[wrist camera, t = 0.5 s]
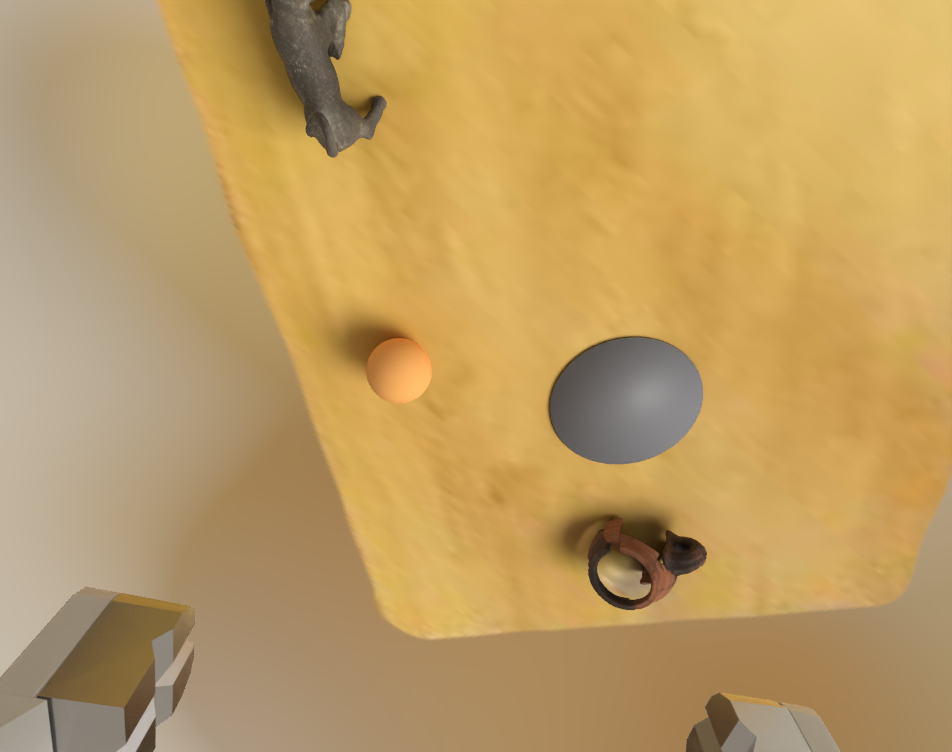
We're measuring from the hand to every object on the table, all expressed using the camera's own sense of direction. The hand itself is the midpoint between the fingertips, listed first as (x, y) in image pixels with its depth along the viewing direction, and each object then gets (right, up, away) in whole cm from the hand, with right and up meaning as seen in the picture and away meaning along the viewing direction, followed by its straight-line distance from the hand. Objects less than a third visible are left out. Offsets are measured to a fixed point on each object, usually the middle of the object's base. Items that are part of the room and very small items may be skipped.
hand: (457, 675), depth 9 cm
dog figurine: (-10, +27, +29) cm, 41 cm away
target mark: (+14, +2, +43) cm, 45 cm away
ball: (-6, +5, +38) cm, 39 cm away
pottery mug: (+18, -13, +52) cm, 57 cm away
